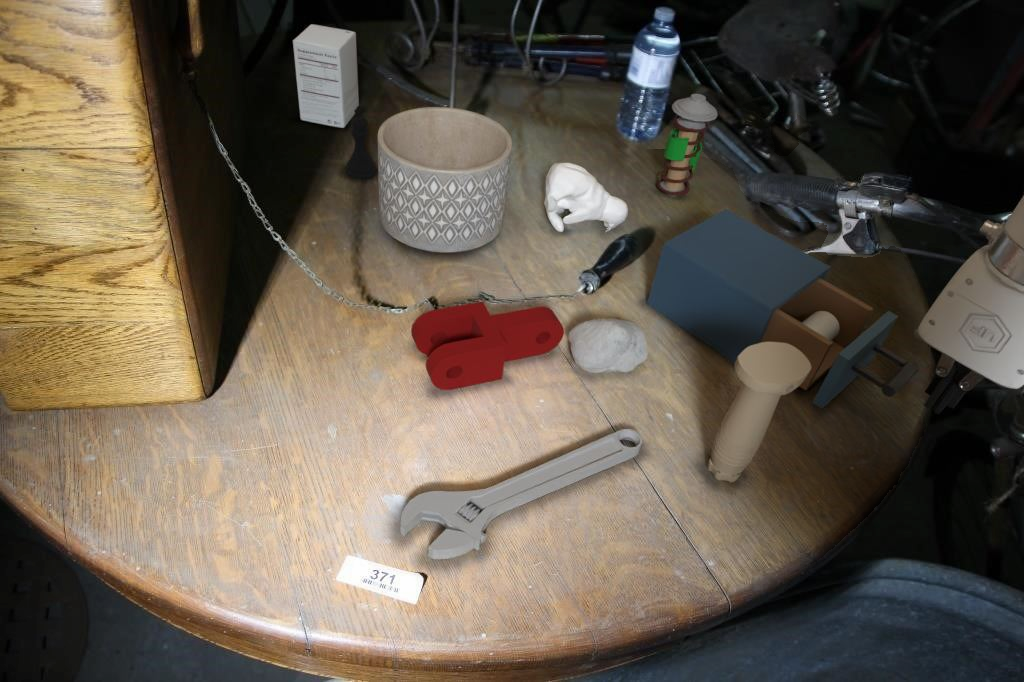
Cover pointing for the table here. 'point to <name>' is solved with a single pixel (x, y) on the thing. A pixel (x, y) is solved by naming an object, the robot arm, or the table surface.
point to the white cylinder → (823, 324)
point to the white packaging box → (326, 75)
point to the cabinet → (729, 281)
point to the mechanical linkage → (481, 341)
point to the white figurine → (580, 198)
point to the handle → (755, 404)
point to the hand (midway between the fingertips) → (936, 403)
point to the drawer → (837, 341)
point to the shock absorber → (685, 143)
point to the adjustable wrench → (509, 494)
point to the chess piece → (360, 150)
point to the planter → (443, 178)
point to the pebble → (608, 345)
